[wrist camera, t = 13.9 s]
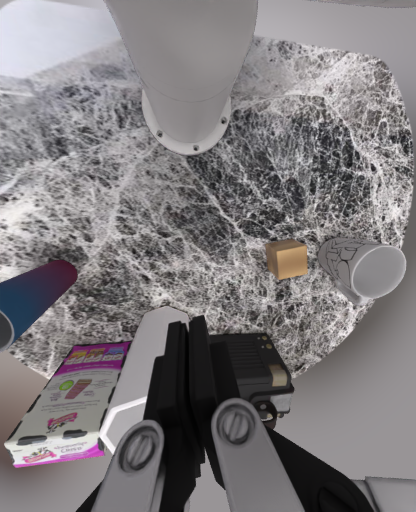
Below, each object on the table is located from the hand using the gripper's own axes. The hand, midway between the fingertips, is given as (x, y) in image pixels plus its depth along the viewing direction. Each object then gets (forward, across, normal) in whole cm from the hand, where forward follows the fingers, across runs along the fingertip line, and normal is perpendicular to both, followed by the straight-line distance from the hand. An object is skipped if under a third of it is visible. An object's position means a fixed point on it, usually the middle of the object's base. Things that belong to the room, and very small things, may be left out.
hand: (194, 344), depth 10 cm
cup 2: (+27, +9, +18) cm, 34 cm away
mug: (+27, -26, +11) cm, 39 cm away
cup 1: (+27, +23, +2) cm, 36 cm away
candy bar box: (+27, +22, +20) cm, 40 cm away
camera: (+27, -4, +28) cm, 39 cm away
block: (+27, -16, +8) cm, 32 cm away
